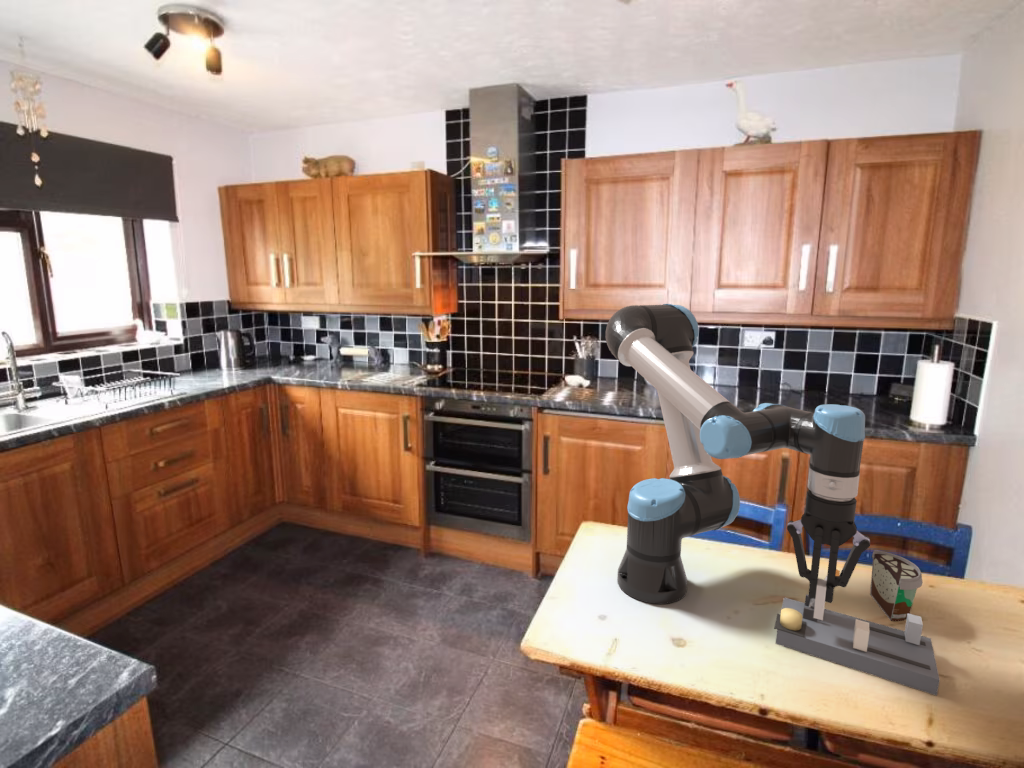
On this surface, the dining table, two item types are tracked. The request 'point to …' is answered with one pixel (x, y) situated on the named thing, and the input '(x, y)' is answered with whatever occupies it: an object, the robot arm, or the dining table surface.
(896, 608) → the food container
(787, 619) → the button
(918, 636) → the grey slider
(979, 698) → the dining table surface
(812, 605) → the lever
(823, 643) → the panel
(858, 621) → the cream slider
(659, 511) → the robot arm
